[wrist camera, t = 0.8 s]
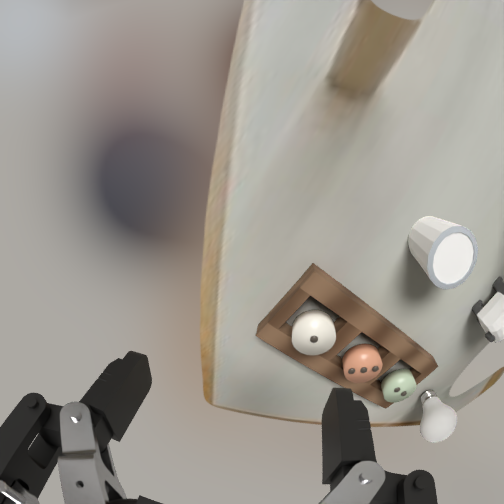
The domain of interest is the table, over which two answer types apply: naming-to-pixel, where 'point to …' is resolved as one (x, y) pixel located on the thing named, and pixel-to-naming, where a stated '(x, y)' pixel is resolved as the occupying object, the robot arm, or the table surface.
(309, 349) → the button one
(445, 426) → the light bulb
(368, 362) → the button three
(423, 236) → the white tapered cylinder
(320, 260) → the table surface
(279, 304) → the button board
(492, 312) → the giant panda
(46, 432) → the robot arm
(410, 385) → the button two
